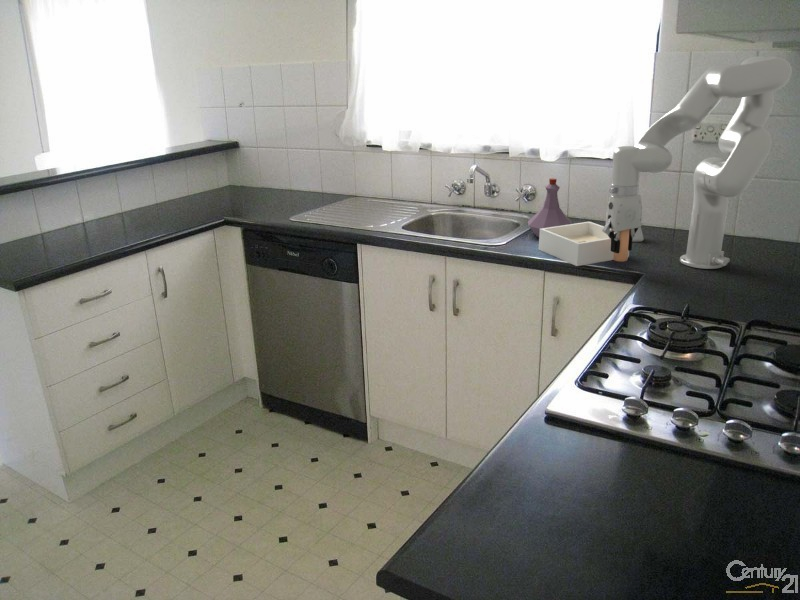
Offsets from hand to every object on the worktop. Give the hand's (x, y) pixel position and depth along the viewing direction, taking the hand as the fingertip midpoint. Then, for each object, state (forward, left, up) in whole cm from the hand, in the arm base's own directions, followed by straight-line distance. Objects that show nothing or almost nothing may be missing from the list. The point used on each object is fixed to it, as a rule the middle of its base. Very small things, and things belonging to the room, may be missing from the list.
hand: (621, 250), depth 202 cm
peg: (0, 0, -3) cm, 3 cm away
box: (+16, +1, -5) cm, 17 cm away
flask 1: (+38, -2, -5) cm, 39 cm away
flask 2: (+21, -24, -5) cm, 33 cm away
